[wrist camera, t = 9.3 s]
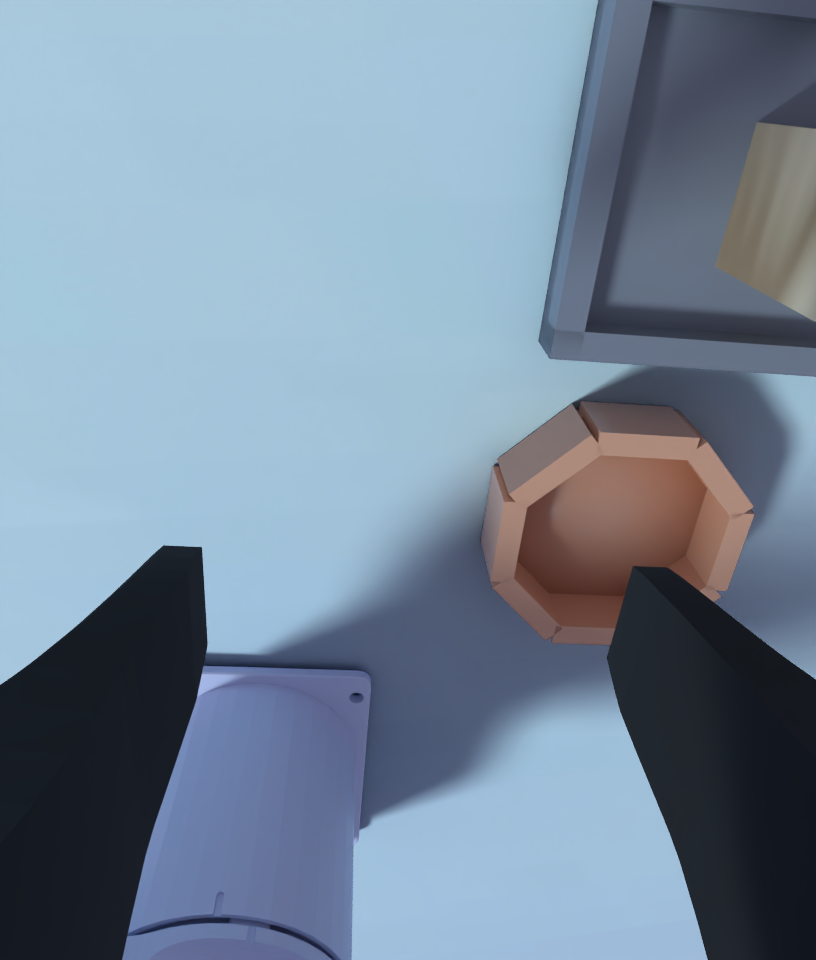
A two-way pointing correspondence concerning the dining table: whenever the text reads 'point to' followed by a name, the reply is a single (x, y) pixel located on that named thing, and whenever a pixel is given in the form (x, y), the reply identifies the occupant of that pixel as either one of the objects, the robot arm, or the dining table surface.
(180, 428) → the dining table surface
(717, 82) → the slate tray
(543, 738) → the dining table surface
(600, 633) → the terracotta octagonal bowl
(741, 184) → the beech peg
